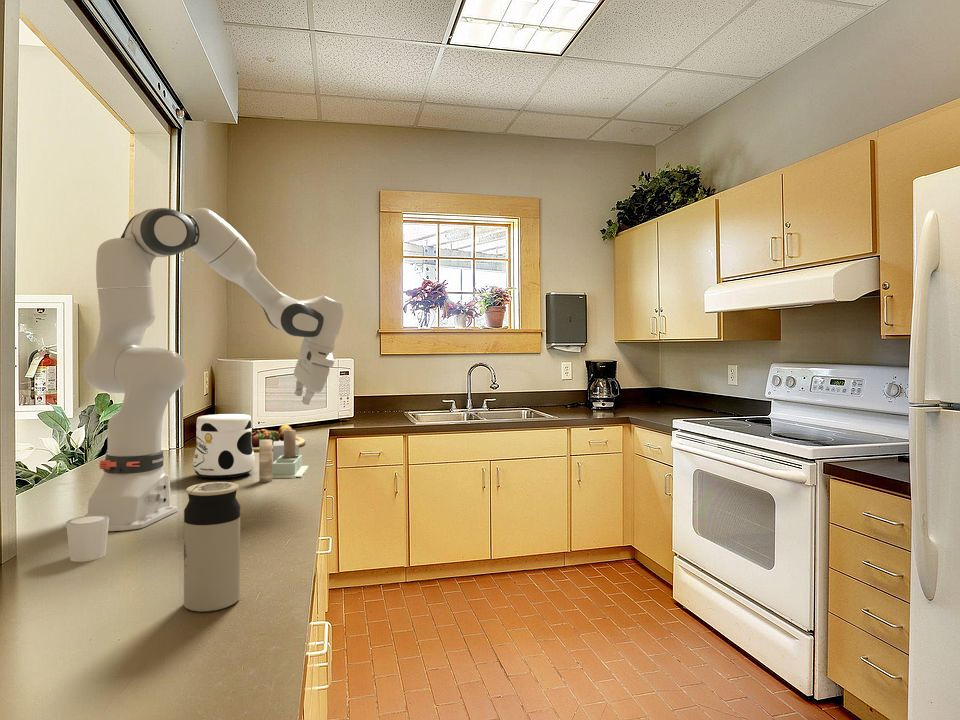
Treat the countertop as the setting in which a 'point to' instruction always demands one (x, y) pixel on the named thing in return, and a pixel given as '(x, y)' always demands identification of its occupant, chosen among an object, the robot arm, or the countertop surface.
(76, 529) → the white cup
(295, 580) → the countertop surface
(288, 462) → the pin board
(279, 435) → the wooden plate with food
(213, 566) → the travel mug
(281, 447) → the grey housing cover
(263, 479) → the beech peg
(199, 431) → the milk container
